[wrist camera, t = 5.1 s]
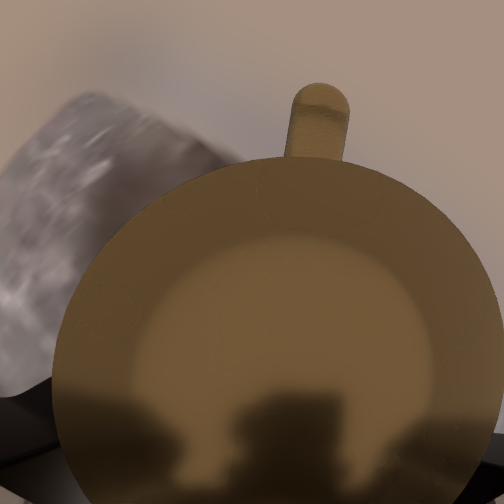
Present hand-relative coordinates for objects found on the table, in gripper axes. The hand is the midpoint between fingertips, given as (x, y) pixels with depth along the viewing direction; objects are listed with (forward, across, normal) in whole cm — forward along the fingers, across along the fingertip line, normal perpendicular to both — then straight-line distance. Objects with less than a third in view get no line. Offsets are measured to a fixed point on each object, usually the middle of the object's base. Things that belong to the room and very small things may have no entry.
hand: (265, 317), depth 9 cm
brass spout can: (+5, 0, +5) cm, 7 cm away
